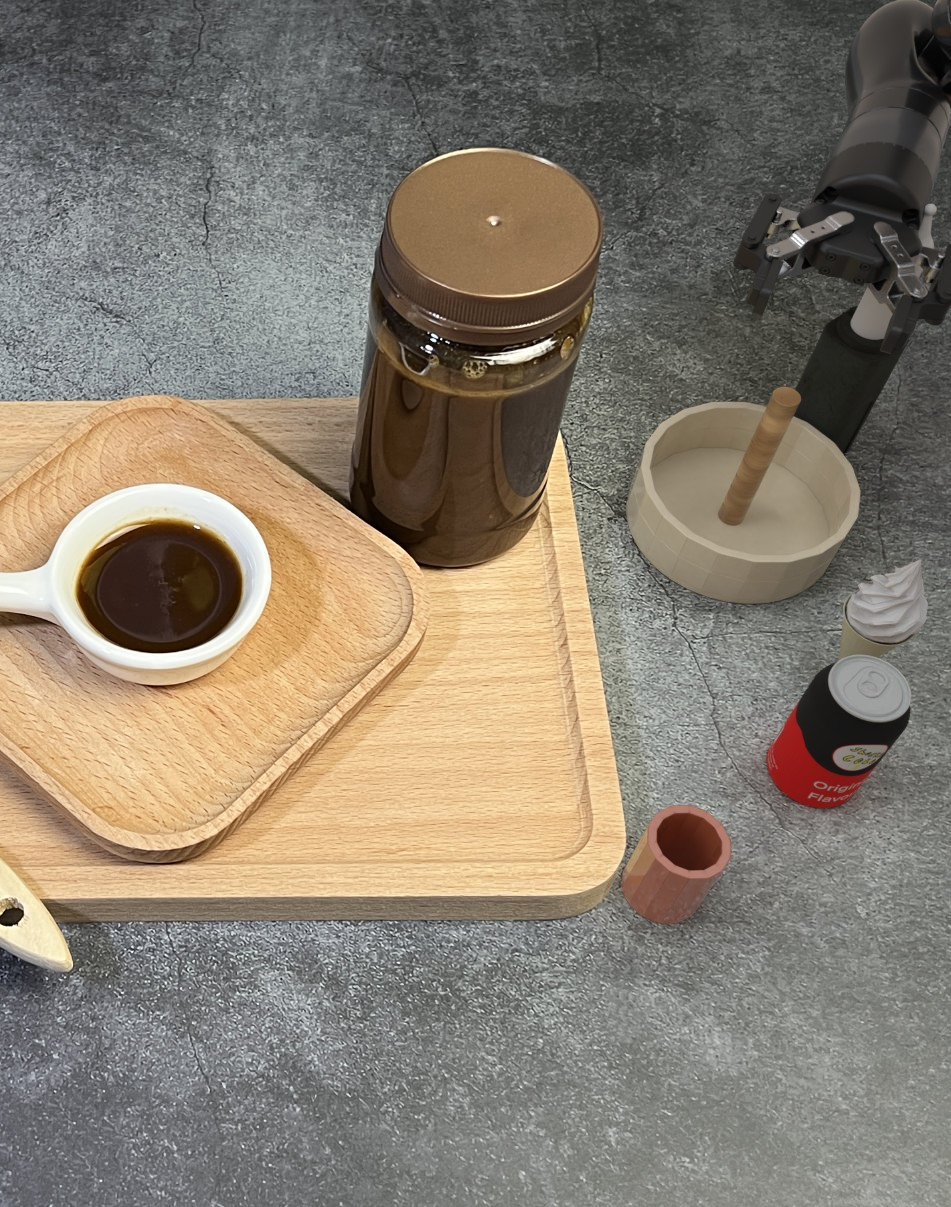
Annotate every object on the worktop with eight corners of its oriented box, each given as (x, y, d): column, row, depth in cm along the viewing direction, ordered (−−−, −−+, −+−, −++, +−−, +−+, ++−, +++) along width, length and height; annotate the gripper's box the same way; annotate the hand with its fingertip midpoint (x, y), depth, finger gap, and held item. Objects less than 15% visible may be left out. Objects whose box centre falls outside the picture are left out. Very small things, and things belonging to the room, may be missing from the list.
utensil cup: (710, 885, 99) (745, 833, 92) (675, 943, 96) (709, 894, 90) (640, 843, 101) (670, 790, 94) (605, 900, 98) (633, 849, 92)
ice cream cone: (830, 714, 106) (910, 596, 94) (791, 660, 109) (864, 539, 97) (889, 694, 107) (976, 575, 95) (849, 641, 110) (929, 519, 97)
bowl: (867, 505, 117) (893, 460, 113) (783, 638, 110) (807, 597, 106) (680, 418, 123) (698, 372, 119) (590, 539, 116) (605, 496, 112)
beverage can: (745, 778, 103) (801, 690, 93) (789, 721, 106) (847, 630, 96) (827, 831, 101) (893, 746, 91) (869, 771, 103) (938, 683, 93)
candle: (807, 411, 123) (926, 172, 103) (855, 447, 120) (986, 209, 100) (766, 437, 121) (878, 200, 101) (814, 475, 119) (938, 238, 99)
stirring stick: (747, 522, 116) (806, 403, 104) (725, 528, 116) (781, 408, 104) (736, 504, 117) (792, 384, 106) (713, 509, 117) (767, 389, 105)
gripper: (793, 115, 104) (735, 250, 96) (1002, 167, 99) (959, 314, 91) (761, 199, 110) (703, 333, 102) (956, 252, 106) (913, 396, 97)
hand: (824, 324), depth 96 cm, fingers open, 8 cm apart
